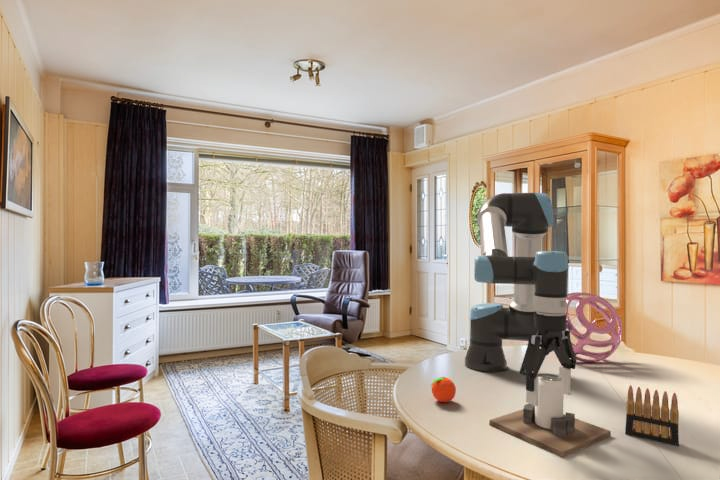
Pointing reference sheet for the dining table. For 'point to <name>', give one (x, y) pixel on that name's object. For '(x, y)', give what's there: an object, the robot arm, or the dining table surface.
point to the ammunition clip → (652, 417)
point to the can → (549, 399)
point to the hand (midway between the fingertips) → (548, 398)
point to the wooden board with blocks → (551, 431)
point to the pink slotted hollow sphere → (594, 327)
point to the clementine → (443, 389)
